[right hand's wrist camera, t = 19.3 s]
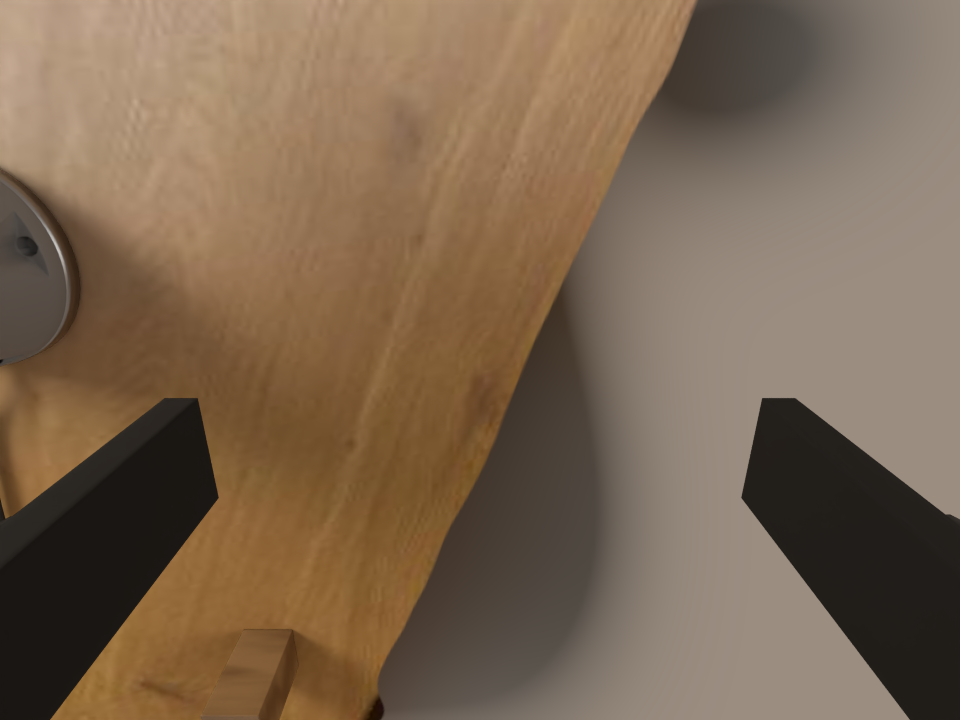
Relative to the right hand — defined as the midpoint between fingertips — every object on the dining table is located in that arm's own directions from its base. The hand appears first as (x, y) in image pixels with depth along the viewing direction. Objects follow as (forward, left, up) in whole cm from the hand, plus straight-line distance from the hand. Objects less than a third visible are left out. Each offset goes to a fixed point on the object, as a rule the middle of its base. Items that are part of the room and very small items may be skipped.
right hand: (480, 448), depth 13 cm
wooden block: (-44, -3, -28) cm, 53 cm away
